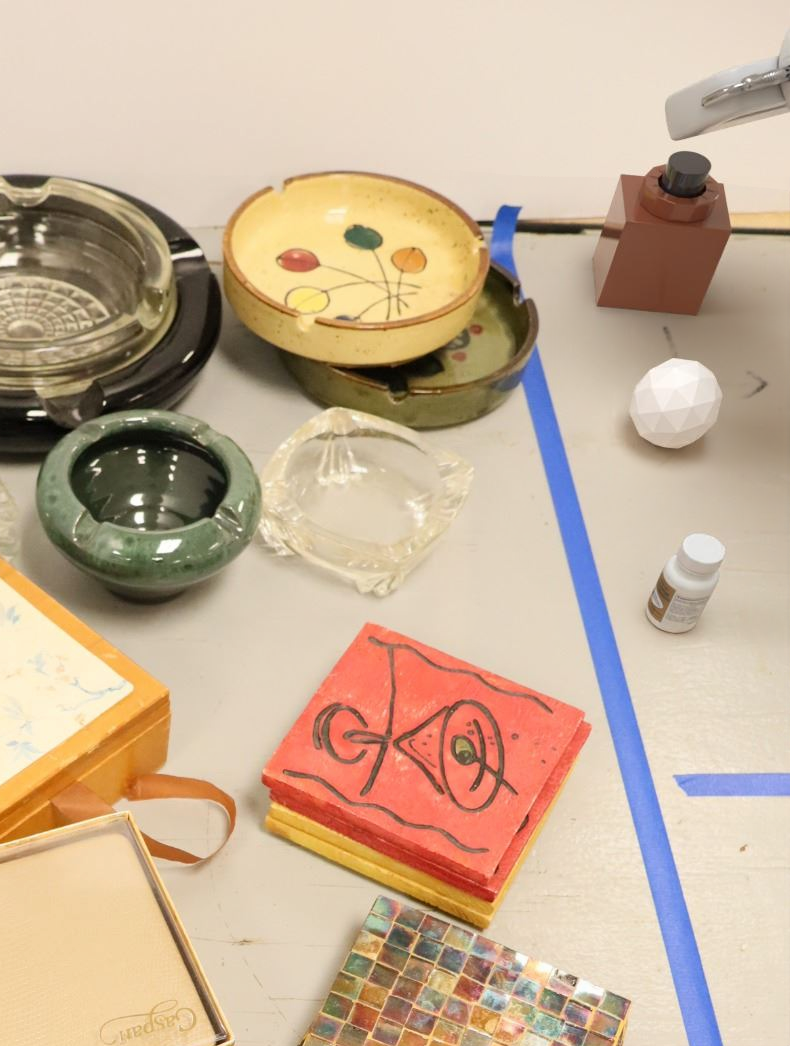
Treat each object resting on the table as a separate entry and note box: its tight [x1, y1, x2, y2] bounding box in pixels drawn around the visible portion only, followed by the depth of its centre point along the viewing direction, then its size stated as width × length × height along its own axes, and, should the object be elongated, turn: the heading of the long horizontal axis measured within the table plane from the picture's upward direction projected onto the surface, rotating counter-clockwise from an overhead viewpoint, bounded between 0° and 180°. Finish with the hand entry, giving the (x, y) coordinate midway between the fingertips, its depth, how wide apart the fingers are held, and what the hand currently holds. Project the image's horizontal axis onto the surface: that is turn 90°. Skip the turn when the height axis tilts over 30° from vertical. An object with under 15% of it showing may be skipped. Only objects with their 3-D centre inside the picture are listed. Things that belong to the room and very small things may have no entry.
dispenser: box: [592, 163, 733, 317], centre depth 141 cm, size 10×8×11 cm
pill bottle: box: [645, 533, 726, 634], centre depth 118 cm, size 4×4×8 cm
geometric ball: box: [628, 357, 724, 449], centre depth 130 cm, size 8×8×8 cm
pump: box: [660, 150, 712, 199], centre depth 136 cm, size 4×4×2 cm
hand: (716, 117), depth 130 cm, fingers closed
